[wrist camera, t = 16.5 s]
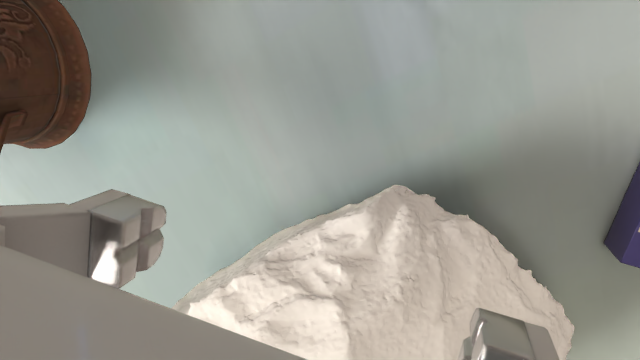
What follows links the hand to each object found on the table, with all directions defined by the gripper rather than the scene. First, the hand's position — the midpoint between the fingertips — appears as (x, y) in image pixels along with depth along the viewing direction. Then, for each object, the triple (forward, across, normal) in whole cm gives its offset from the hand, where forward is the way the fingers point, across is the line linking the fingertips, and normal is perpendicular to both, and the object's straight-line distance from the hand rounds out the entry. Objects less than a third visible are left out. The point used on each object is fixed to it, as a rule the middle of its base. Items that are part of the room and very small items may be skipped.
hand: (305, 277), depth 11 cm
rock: (+31, +1, +20) cm, 37 cm away
